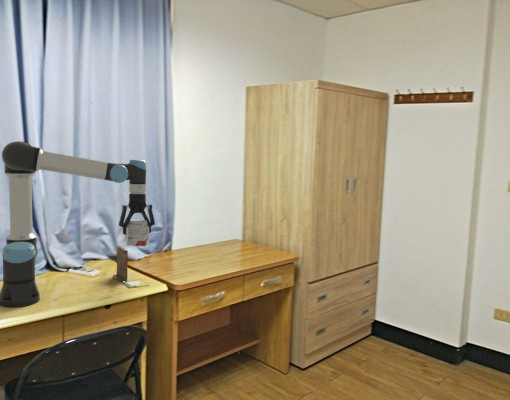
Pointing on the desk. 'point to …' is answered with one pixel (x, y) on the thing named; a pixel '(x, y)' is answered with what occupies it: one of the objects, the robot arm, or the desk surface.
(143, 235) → the ink box
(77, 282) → the desk surface
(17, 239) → the robot arm
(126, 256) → the screen
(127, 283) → the mat
